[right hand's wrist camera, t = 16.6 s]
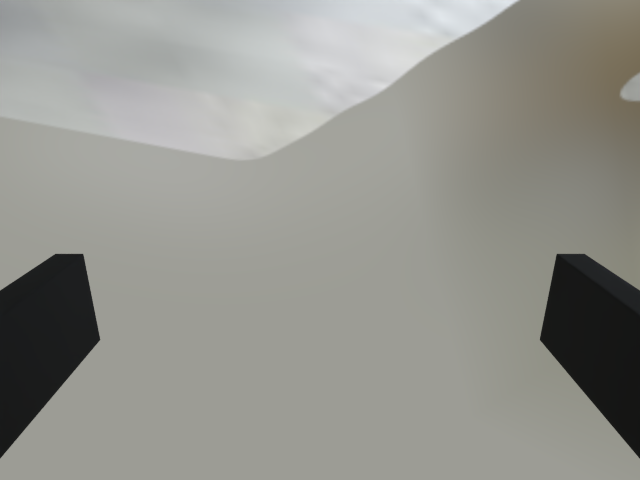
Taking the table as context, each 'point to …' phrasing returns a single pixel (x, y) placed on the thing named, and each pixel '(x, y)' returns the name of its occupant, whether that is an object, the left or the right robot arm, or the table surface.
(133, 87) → the table surface
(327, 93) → the table surface
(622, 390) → the right robot arm
